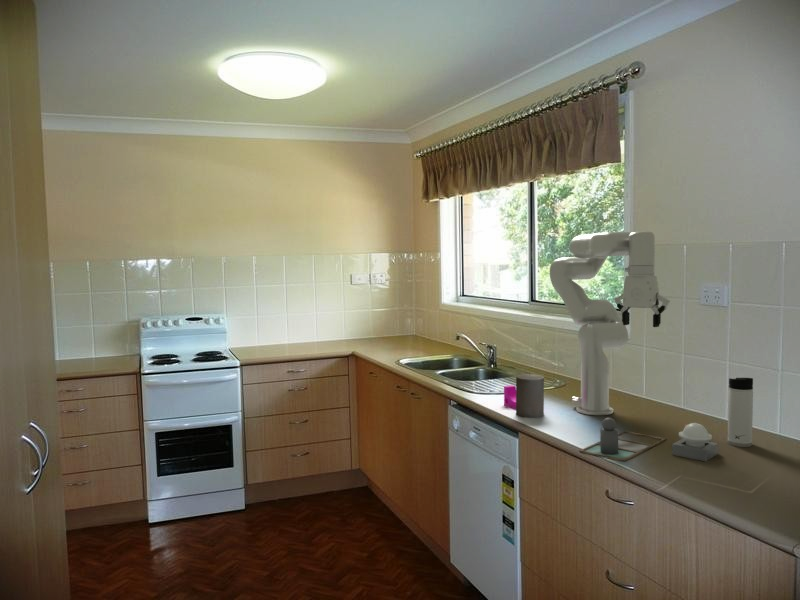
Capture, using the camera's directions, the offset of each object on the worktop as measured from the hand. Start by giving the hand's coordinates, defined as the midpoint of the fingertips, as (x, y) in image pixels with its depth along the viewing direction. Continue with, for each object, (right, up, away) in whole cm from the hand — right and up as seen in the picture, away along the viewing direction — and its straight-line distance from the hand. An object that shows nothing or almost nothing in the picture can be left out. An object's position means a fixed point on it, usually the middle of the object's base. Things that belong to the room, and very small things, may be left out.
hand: (640, 325), depth 201 cm
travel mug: (+23, -34, -15) cm, 44 cm away
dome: (+6, -33, -23) cm, 41 cm away
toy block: (-31, -32, +33) cm, 55 cm away
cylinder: (-17, -35, -21) cm, 44 cm away
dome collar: (+6, -35, -23) cm, 42 cm away
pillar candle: (-30, -33, +24) cm, 50 cm away
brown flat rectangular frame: (-10, -34, -15) cm, 39 cm away
